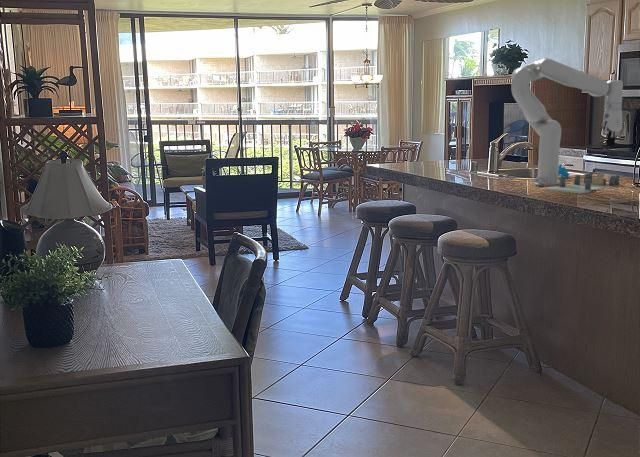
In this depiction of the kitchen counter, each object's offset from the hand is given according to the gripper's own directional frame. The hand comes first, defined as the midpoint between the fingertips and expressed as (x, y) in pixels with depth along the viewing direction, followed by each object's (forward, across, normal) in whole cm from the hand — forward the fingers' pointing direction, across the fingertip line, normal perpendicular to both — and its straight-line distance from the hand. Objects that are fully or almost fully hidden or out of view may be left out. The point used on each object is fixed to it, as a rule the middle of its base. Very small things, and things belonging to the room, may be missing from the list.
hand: (610, 145), depth 327 cm
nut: (+18, -8, 0) cm, 20 cm away
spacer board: (+19, -19, +1) cm, 27 cm away
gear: (+19, +10, +32) cm, 39 cm away
